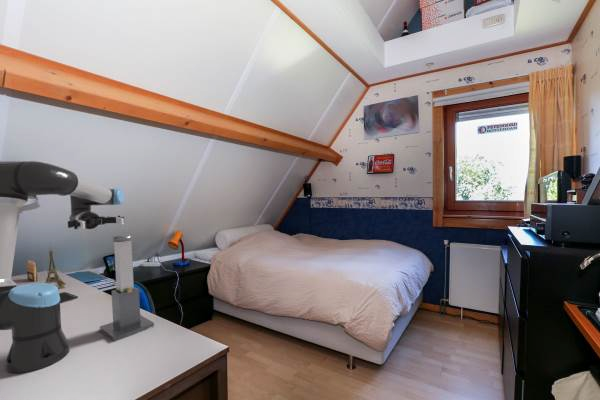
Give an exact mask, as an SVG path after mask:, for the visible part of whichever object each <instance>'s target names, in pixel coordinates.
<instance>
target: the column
mask: <svg viewBox="0 0 600 400" xmlns="http://www.w3.org/2000/svg"><path fill="white" fill-rule="evenodd" d="M132 241H133V235H132V234H120V235H115V236H112V243H113V245H114V246H113V248H114V266H115V285H116V286H115V287H116V288H115V290H116V291H117V292H118V293H124V292H127V290H130V289H132V290H134V287H135V286H134V283H135V282H134V268H133V246H132Z"/></svg>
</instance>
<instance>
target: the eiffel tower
mask: <svg viewBox="0 0 600 400" xmlns="http://www.w3.org/2000/svg"><path fill="white" fill-rule="evenodd" d="M48 254H49V257H48V258H49V260H48V261H49V262H48V270H47V271H46V272H47V276H46V279H45V282H44V283H49V284H52V283H55V284H57V286H58V287H57V288H58V290H62V289H65V288H66V287H65V286H66V284H67V283H66V282H64V280H62V279H61V278H60V275H58V269H57V268H56V265H55V264H56V263H55V260H54V250H53V249H52V245H51V243H50V250H48ZM51 274H53V275H54V276H52V277H51Z"/></svg>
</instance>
